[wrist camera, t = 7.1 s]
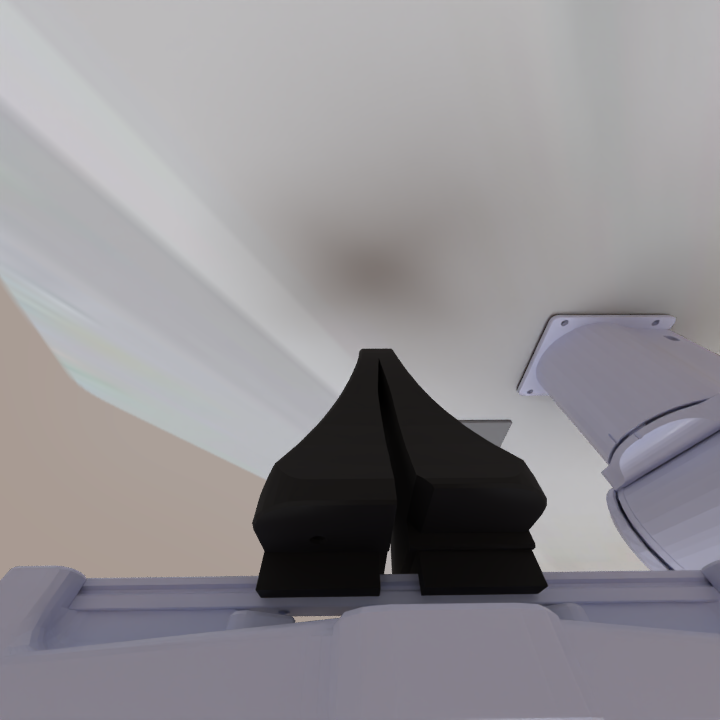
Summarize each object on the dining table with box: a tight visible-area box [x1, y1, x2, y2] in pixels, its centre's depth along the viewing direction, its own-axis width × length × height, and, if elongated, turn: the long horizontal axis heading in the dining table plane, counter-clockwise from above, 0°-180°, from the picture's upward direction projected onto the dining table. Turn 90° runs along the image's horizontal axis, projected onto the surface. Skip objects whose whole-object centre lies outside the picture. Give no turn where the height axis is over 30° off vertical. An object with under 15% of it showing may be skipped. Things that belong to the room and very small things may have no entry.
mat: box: [460, 420, 512, 447], centre depth 32 cm, size 10×15×1 cm, turn 0°
